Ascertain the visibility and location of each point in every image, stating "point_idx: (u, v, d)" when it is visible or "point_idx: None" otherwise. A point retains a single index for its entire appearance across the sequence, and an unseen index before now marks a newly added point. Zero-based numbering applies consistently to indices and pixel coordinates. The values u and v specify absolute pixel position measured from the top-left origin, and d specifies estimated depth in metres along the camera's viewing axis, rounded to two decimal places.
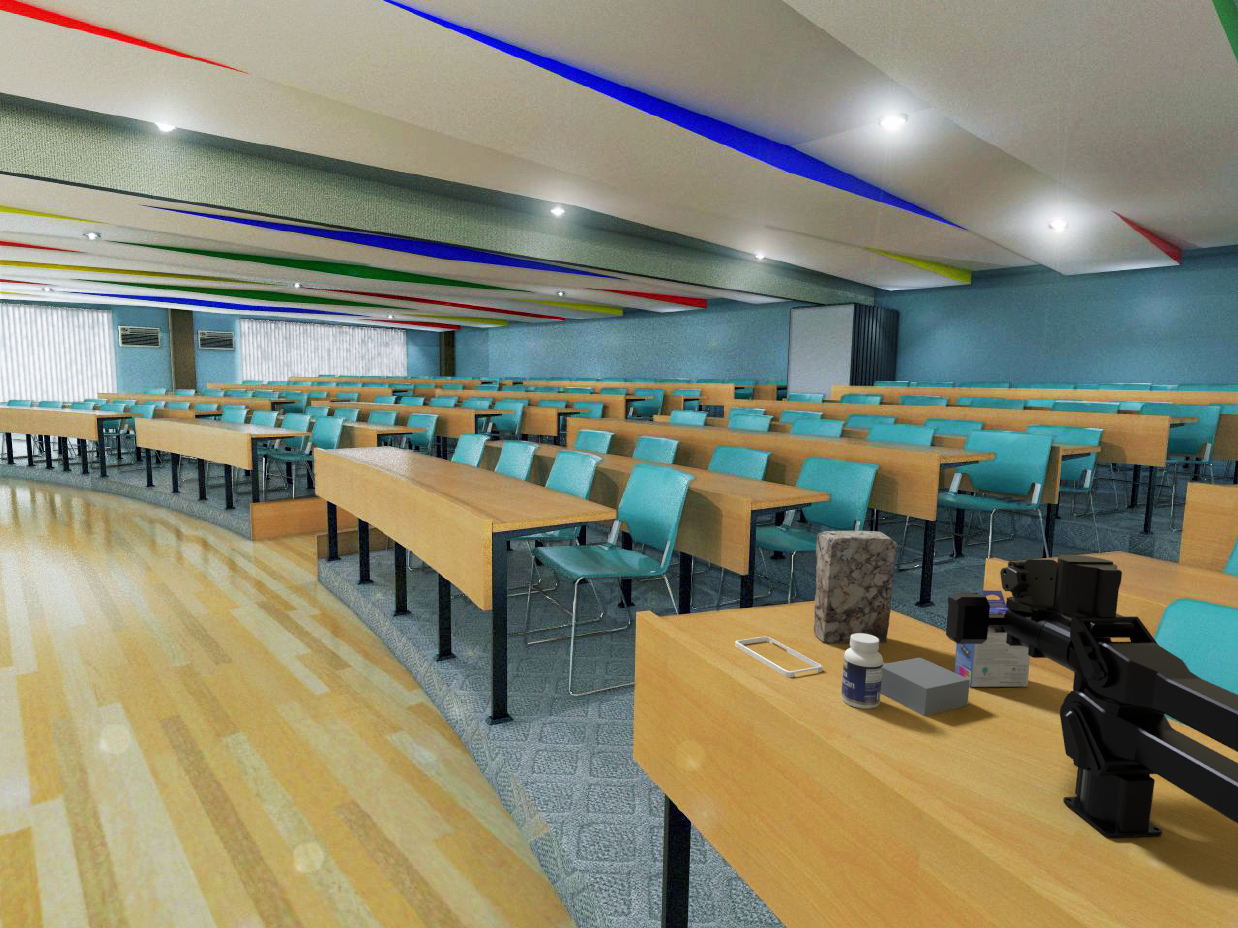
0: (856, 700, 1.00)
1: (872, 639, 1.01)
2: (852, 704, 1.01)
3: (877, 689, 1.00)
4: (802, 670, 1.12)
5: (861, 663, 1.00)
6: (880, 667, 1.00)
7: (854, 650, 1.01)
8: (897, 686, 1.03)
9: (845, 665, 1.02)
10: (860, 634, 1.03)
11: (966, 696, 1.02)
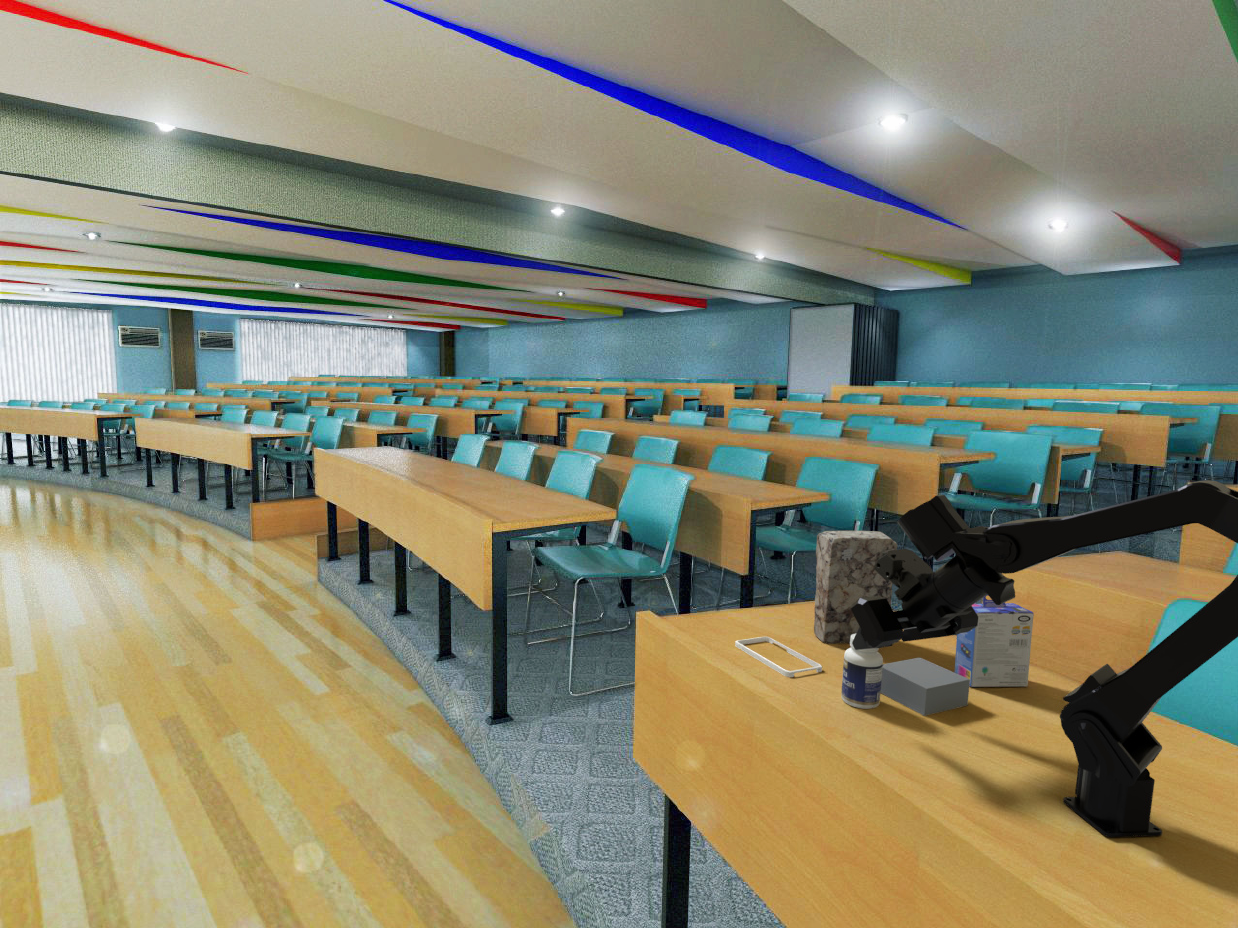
0: (856, 700, 1.00)
1: None
2: (852, 704, 1.01)
3: (877, 689, 1.00)
4: (802, 670, 1.12)
5: (861, 663, 1.00)
6: (880, 667, 1.00)
7: (854, 650, 1.01)
8: (897, 686, 1.03)
9: (845, 665, 1.02)
10: None
11: (966, 696, 1.02)
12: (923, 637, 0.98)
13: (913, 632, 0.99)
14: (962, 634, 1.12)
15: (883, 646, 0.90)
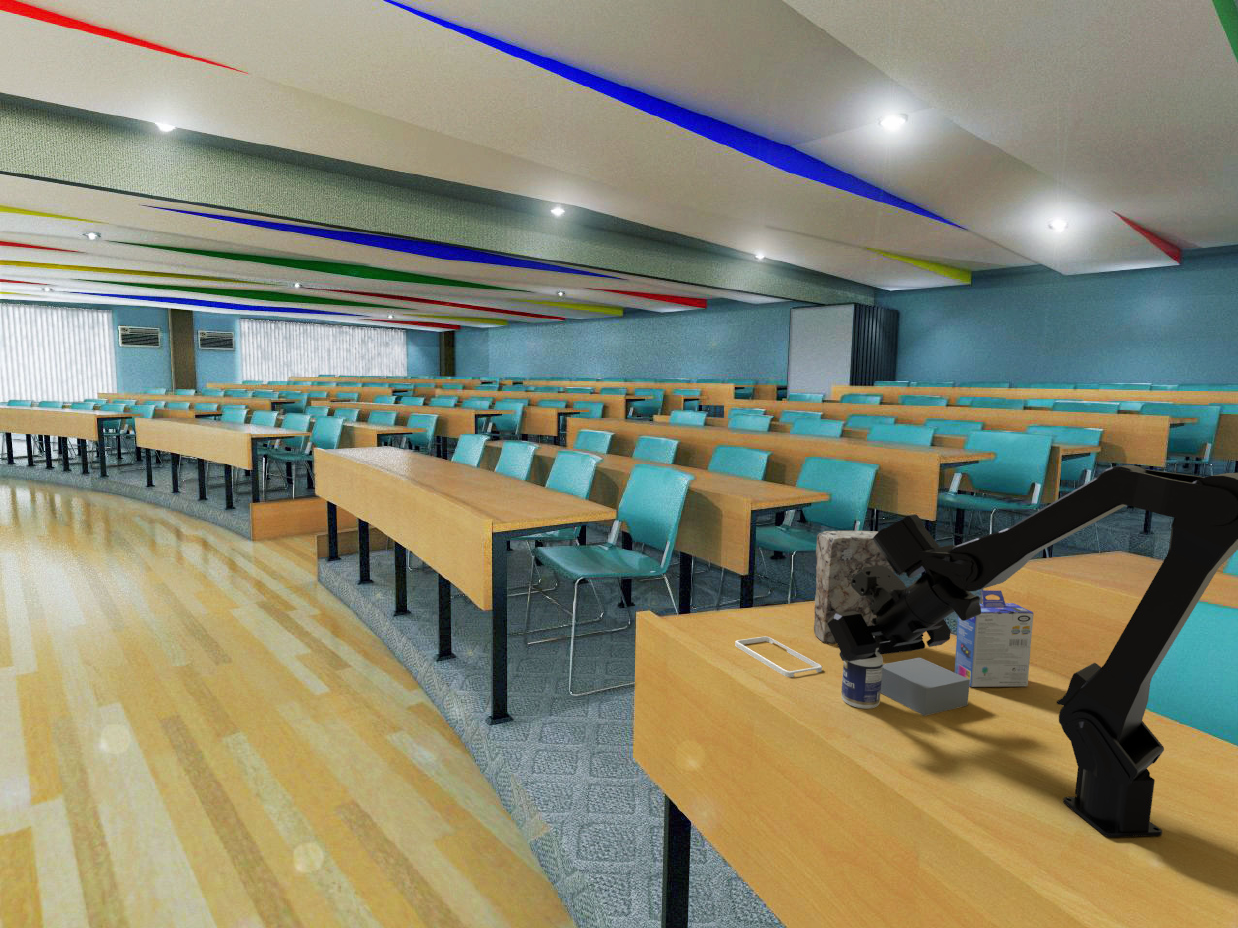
0: (856, 699, 1.00)
1: None
2: (852, 704, 1.01)
3: (877, 689, 1.00)
4: (802, 670, 1.12)
5: (861, 662, 1.00)
6: (880, 667, 1.00)
7: None
8: (897, 686, 1.03)
9: (845, 665, 1.02)
10: None
11: (966, 696, 1.02)
12: (890, 651, 1.01)
13: (880, 646, 1.03)
14: (962, 634, 1.12)
15: (867, 658, 0.95)
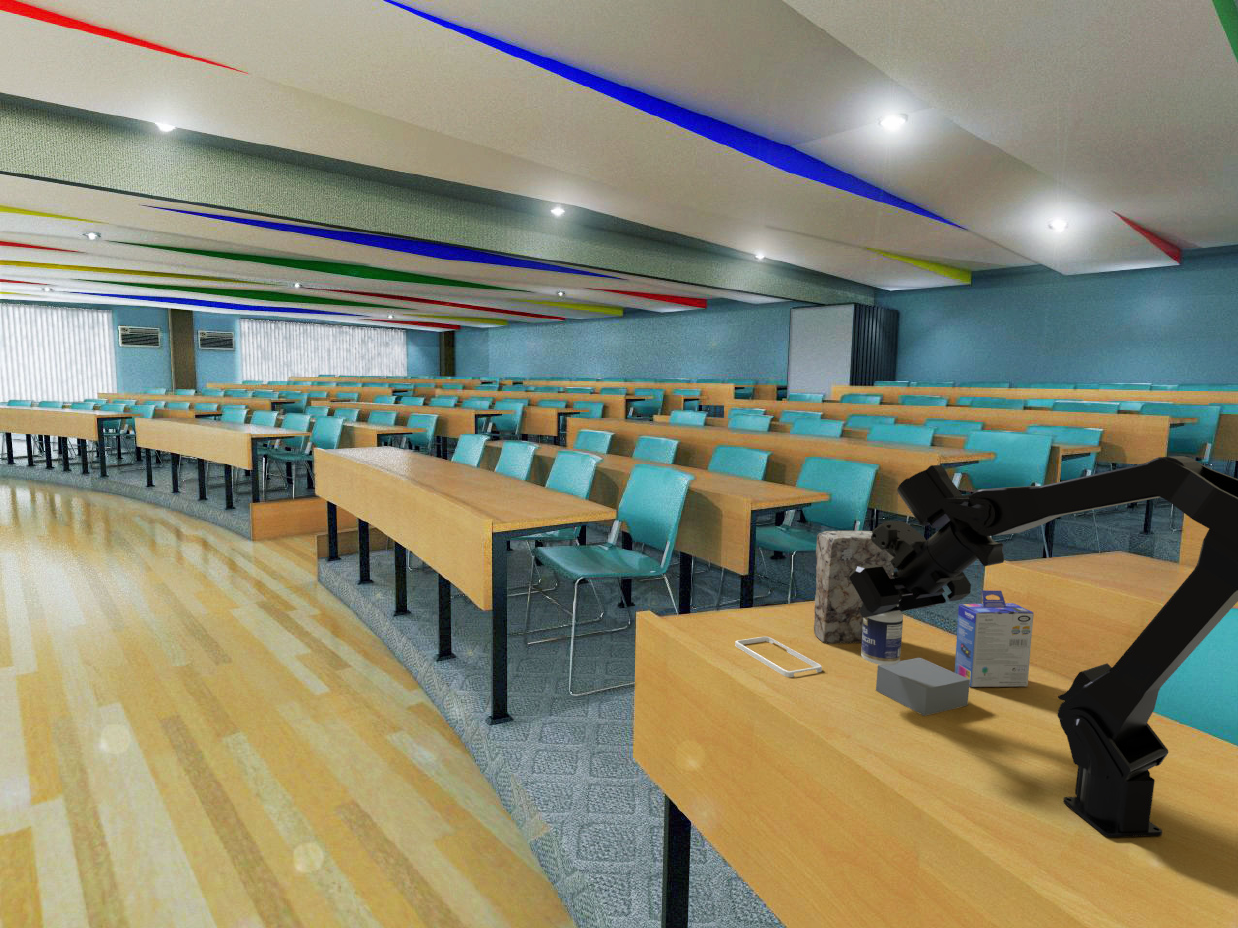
0: (877, 656, 1.00)
1: None
2: (873, 661, 1.00)
3: (898, 646, 1.00)
4: (802, 670, 1.12)
5: (882, 618, 0.99)
6: (901, 623, 1.00)
7: None
8: (897, 686, 1.03)
9: (865, 622, 1.01)
10: None
11: (966, 696, 1.02)
12: (910, 607, 1.01)
13: (900, 603, 1.02)
14: (962, 634, 1.12)
15: (890, 610, 0.94)
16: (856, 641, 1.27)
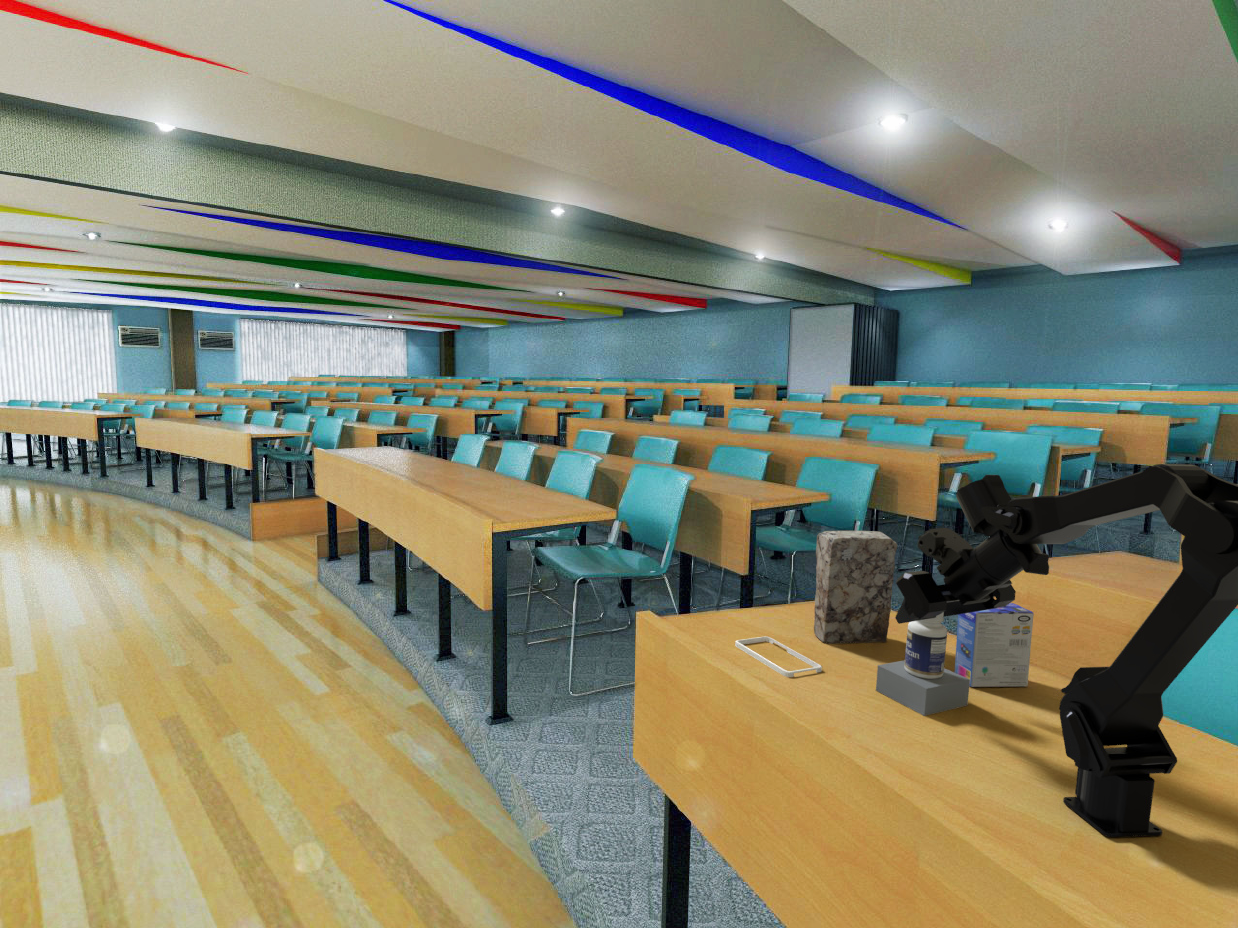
0: (921, 670, 1.02)
1: None
2: (916, 674, 1.02)
3: (942, 660, 1.02)
4: (801, 670, 1.12)
5: (927, 633, 1.01)
6: (945, 638, 1.02)
7: (919, 621, 1.03)
8: (897, 686, 1.03)
9: (909, 636, 1.03)
10: None
11: (966, 696, 1.02)
12: (962, 612, 1.03)
13: (952, 607, 1.05)
14: (962, 634, 1.12)
15: (928, 618, 0.95)
16: (856, 641, 1.27)
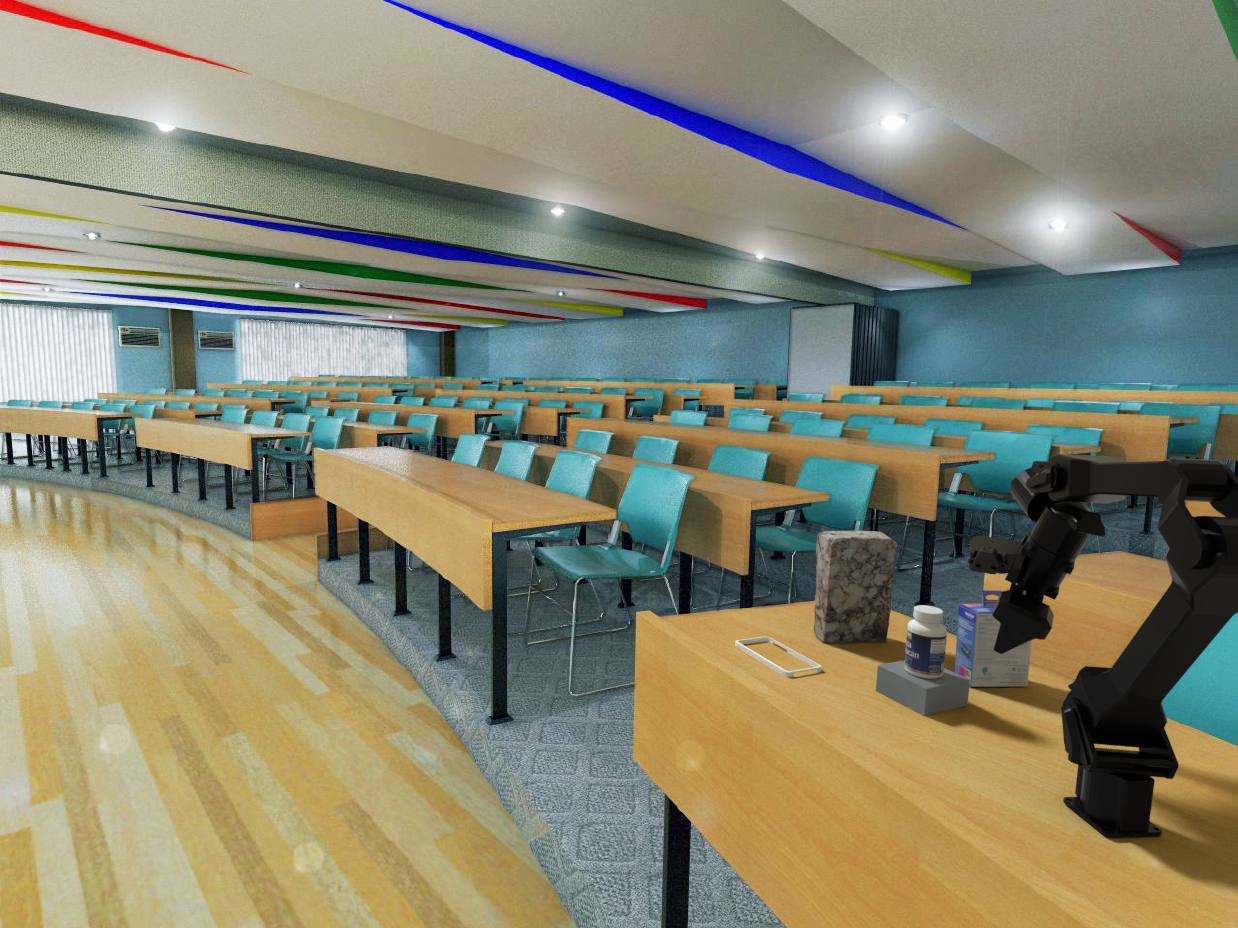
0: (921, 670, 1.02)
1: (936, 610, 1.03)
2: (916, 674, 1.02)
3: (942, 660, 1.02)
4: (801, 670, 1.12)
5: (926, 633, 1.01)
6: (944, 638, 1.02)
7: (918, 621, 1.03)
8: (897, 686, 1.03)
9: (908, 636, 1.03)
10: (923, 606, 1.04)
11: (966, 696, 1.02)
12: None
13: None
14: (962, 634, 1.12)
15: None
16: (856, 641, 1.27)
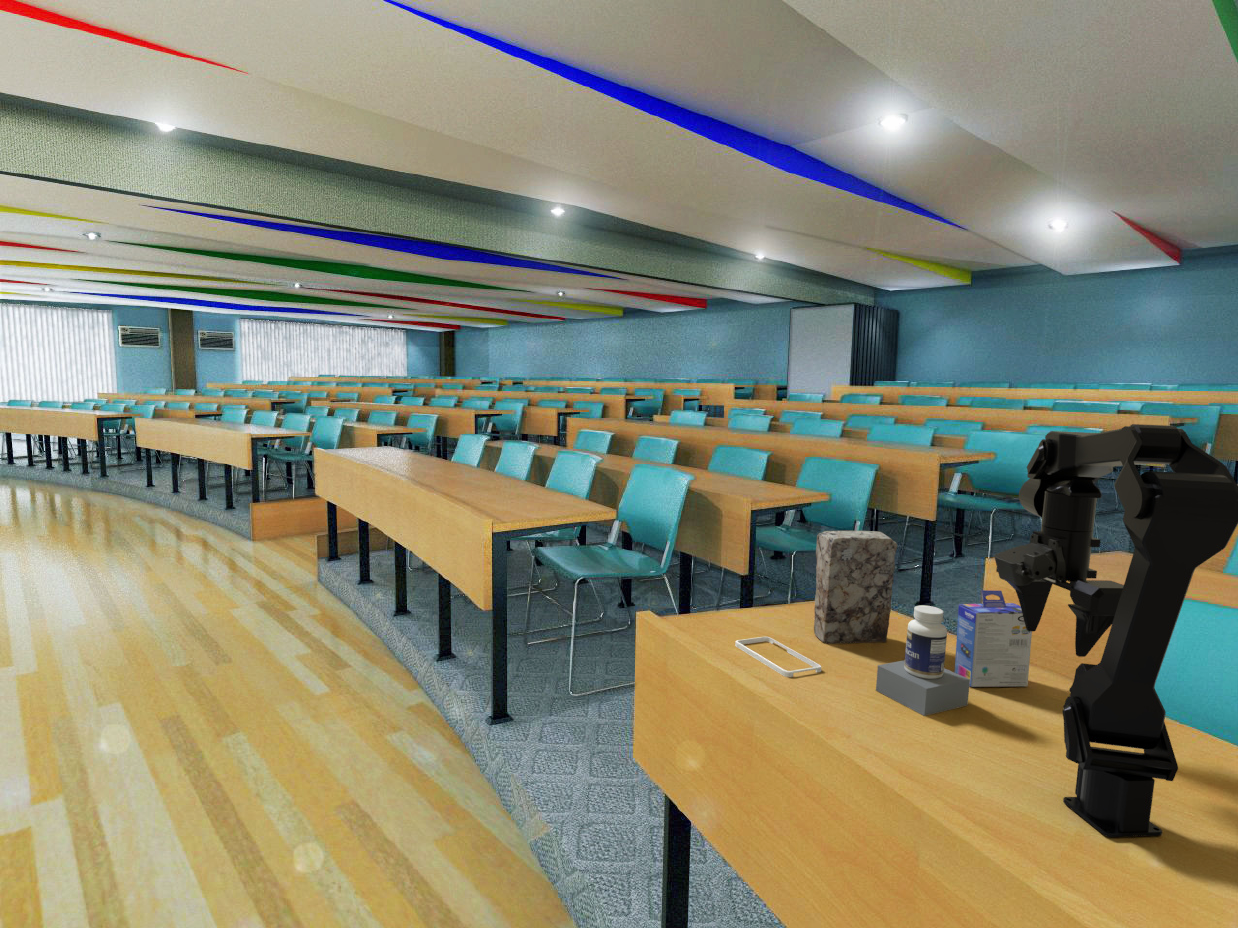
0: (921, 670, 1.02)
1: (936, 611, 1.02)
2: (916, 674, 1.02)
3: (942, 660, 1.02)
4: (801, 670, 1.12)
5: (926, 633, 1.01)
6: (945, 638, 1.01)
7: (918, 621, 1.03)
8: (897, 686, 1.03)
9: (909, 636, 1.03)
10: (923, 606, 1.04)
11: (966, 696, 1.02)
12: (1043, 606, 0.97)
13: (1034, 613, 0.97)
14: (962, 634, 1.12)
15: None
16: (856, 641, 1.27)
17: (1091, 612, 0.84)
